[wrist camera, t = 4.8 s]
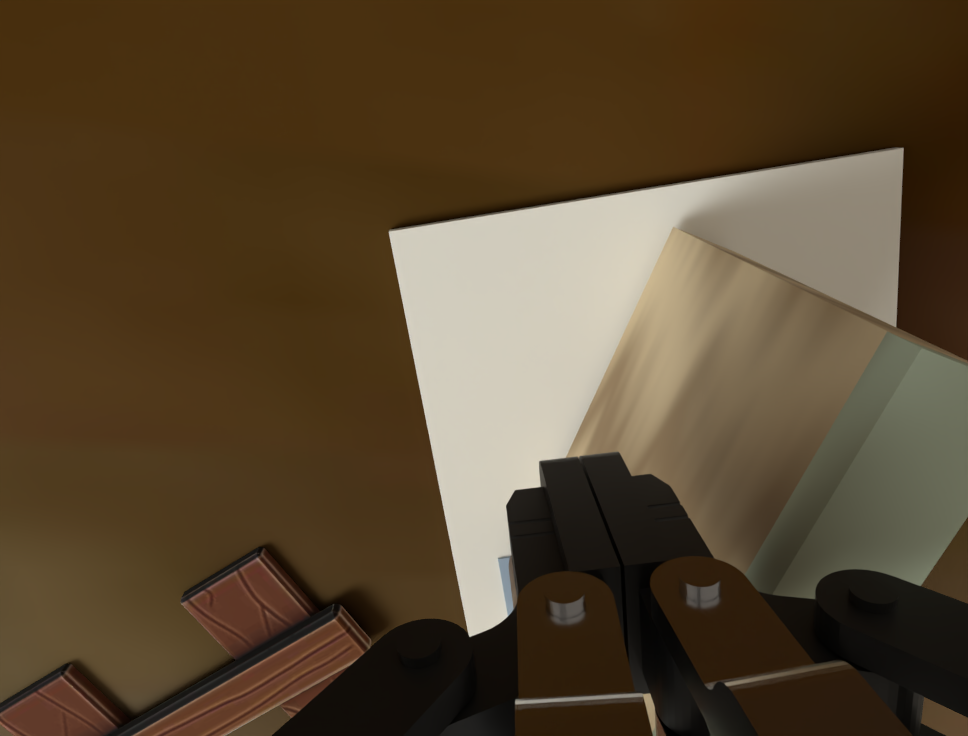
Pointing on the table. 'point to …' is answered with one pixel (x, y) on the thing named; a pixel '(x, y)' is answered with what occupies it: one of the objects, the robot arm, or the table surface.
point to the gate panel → (785, 423)
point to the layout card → (599, 316)
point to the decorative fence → (230, 691)
